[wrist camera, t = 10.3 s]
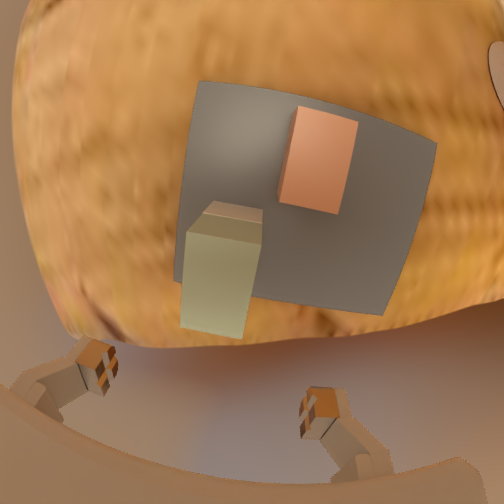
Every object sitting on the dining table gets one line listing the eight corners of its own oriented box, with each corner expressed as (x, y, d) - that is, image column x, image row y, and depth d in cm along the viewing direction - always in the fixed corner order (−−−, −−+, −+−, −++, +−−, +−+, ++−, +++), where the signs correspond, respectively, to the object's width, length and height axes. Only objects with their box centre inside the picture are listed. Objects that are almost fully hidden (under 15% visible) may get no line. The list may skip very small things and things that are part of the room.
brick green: (262, 223, 22) (261, 245, 18) (246, 305, 25) (241, 339, 21) (202, 213, 22) (186, 231, 18) (194, 295, 25) (180, 326, 21)
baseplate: (432, 143, 24) (463, 145, 18) (379, 311, 32) (396, 340, 26) (201, 82, 23) (184, 67, 18) (175, 277, 31) (159, 304, 26)
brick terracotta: (342, 125, 23) (358, 122, 19) (325, 202, 26) (337, 214, 22) (292, 113, 23) (298, 105, 19) (276, 192, 26) (279, 202, 22)
